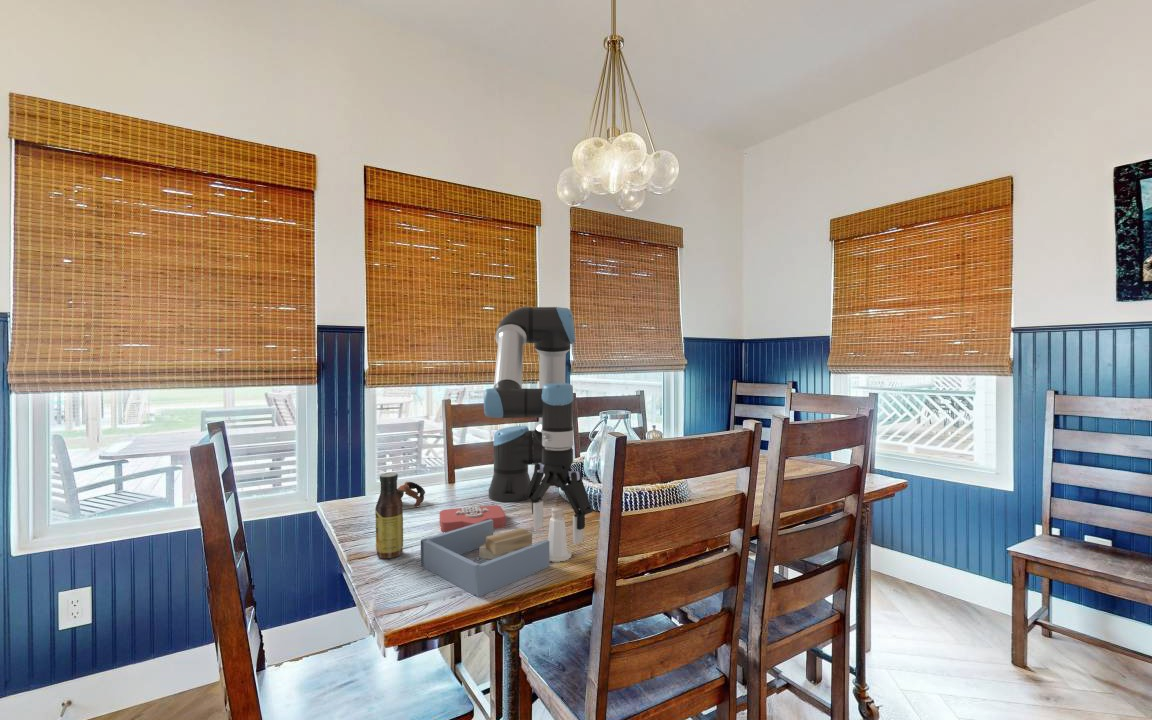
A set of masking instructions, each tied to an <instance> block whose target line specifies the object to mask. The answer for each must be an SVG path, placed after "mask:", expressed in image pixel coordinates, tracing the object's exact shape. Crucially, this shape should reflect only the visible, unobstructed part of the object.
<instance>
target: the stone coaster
mask: <svg viewBox="0 0 1152 720" xmlns="http://www.w3.org/2000/svg"><path fill="white" fill-rule="evenodd" d="M567 554H568V555H566V556H564V557H562V558H552V557H550V556H549V561H552V562H551V563H561V562H560V561H564V562H566V561H565V560H567V561H569V560H570V559H569V558H571V559H572V557H573V556H572V554H573V553H572V552H571V551H570V550H569V549H567ZM571 556H572V557H571ZM568 559H569V560H568Z"/></svg>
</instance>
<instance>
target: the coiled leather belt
mask: <svg viewBox="0 0 1152 720" xmlns="http://www.w3.org/2000/svg"><path fill="white" fill-rule="evenodd" d="M415 489H416V491H415ZM397 493H398V495H399V496H400V498H401V499H402V498H403V496H404V495H406V496H408V497H411V498H413V499H415V503H414V507H415V508H418V507H417V506H419V507H420V505H421V504H423V501H424V499H425V494H426V491H425V489H424V488H423V487H422V486H421V485H420V484H418V483H416V482H412V481H405V482H404V484H403V485H400V486H399V487H397Z"/></svg>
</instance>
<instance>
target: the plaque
mask: <svg viewBox="0 0 1152 720" xmlns="http://www.w3.org/2000/svg"><path fill="white" fill-rule="evenodd" d="M506 518H507V515H506V513H505V511H504V510H503V508H502V506H501V505H495V504H492V505H484V506H483V505H482V506H469V507H460V508H449V509H448V508H447V509H443V510H440V511H439V527H441V528H440V531H441V533H444V532H445V533H446V532H449V531H452V530H456V529H459V528H463V527H466V526H469V525H473V524H476V523H479V522H483V521H486V520H489V519H491V520H493V529H497V528H498V529H500V528H504V527H505V526H506V523H507V520H506Z"/></svg>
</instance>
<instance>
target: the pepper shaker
mask: <svg viewBox="0 0 1152 720" xmlns="http://www.w3.org/2000/svg"><path fill="white" fill-rule="evenodd" d="M563 513H564V509H563V507H560V506H555V507H552V508H551V517H550V518H549V523H548V524H549V526H548V536H547V540H548V541H549V556H550V557H552V558H562V557H564V556H566V555H568V554H567V550H568V544H567V535H566V534H567V533H566V521H565V518H564V517H563V516H564V515H563Z"/></svg>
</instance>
